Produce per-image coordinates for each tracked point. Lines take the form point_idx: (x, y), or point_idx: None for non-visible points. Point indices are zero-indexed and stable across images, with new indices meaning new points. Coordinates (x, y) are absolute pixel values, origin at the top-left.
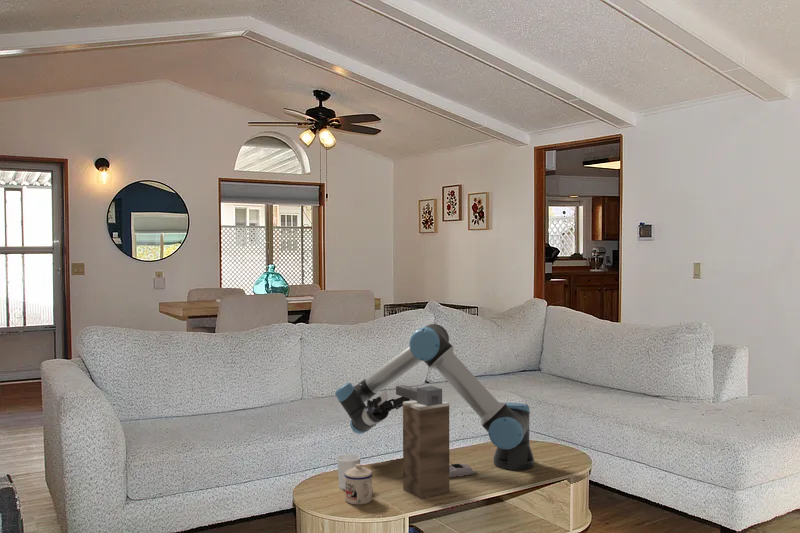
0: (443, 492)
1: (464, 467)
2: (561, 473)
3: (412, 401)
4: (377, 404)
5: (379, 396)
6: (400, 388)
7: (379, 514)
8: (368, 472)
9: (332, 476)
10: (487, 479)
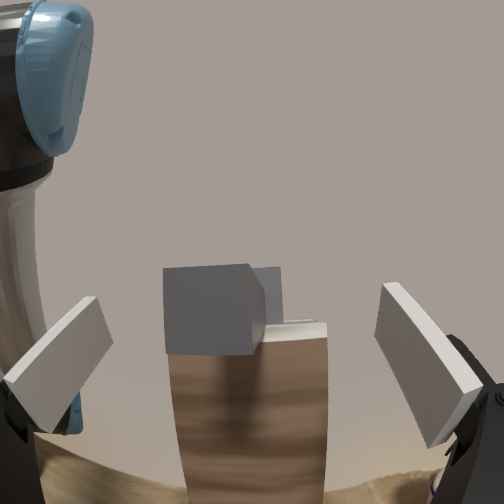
0: None
1: None
2: (38, 436)
3: (285, 325)
4: (453, 456)
5: (441, 342)
6: (254, 283)
7: (414, 478)
8: (443, 472)
9: None
10: (103, 498)
